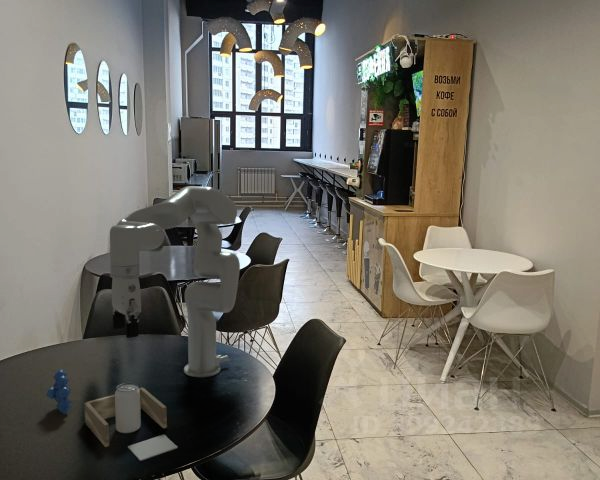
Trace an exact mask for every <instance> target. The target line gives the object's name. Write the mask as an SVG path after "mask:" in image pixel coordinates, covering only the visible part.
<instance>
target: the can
mask: <svg viewBox="0 0 600 480" xmlns="http://www.w3.org/2000/svg"><path fill="white" fill-rule="evenodd" d="M138 388H139V385H138V384H137V383H135V382H125V383H121V384H118V385H117V386H116V390H115V392H114V395H115V414H116V416H115V430H116V431H117V432H118V433H121V434H131V433H134V432H136V431H138V430H139V429H140V428H141V424H142V422H141V421H142V420H141V409H140V391H139V389H138Z"/></svg>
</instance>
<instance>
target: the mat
mask: <svg viewBox="0 0 600 480" xmlns="http://www.w3.org/2000/svg"><path fill="white" fill-rule="evenodd" d="M127 448H128V450H129V451H130V452H131V453H132V454H133V455H134V456H135V458H137V459H138V460H139V461H140V462H141V461H145V460H148V459H150V458H153V457H157V456H159V455H162V454H164V453H167V452H171V451H173V450H176V449H178V445H176V444H175V443H174V442H173V441H172V440H170V438H168V436H167V435H166V434H161V435H158V436H155V437H151V438H149V439H146V440H143V441H140V442H137V443H133V444H131V445H127Z"/></svg>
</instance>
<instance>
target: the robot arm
mask: <svg viewBox="0 0 600 480" xmlns="http://www.w3.org/2000/svg"><path fill="white" fill-rule="evenodd" d="M237 216H238V208H237V204H235V202H234V200H232V199H231V198H230V197H229V196H227V195H226V194H224V193H223V192H221V191H220V190H218V189H216V188H214V187H212V186H199V185H198V186H196V185H187V186H184V187H182V188H180V189H179V190H177V191H176V192H175V193H173V194H172V195H171V196H169V197H168V198H166V199H165V200H163V201H162V202H159V203H156V204H153V205H150V206H146V207H144V208H140V209H137V210H134V211H133V212H131V213H129V214H128V215H126V216H124V217H123V218H122V219H121V220H119V221H118V222H117V223H116V225H113V226H111V227H110V230H109V261H110V262H109V277H110V278H112V280H111V281H112V283H111V307H112V328H113V329H114V330H118V329H124V328H125V338H127V339H130V338H137V337H138V336H139V322H140V313H141V312H142V301H141V300H142V299H141V298H142V297H141V296H142V295H141V286H140V280H139V277H140V251H143V250H144V251H148V250H149V251H152V250H156V249H157V248H159V247H161V246H162V245H163V243H164V240H165V232H164V230H169V229H173V228H177V227H178V226H180V225H181V224H182V223H184V222H185V221H186V220H188V219H189V218H190V220H191V221H192V223H193V225H194V226H195V229H196V234H197V241H196V248H195V254H194V261H193V273H194V274H195V275H196V276H197V277H200V278H204V279H211V280H219V281H220V282H219V283H216V282H215V283H214V282H210V281H193V282H191V283H189V284H188V285H187V286H186V288H185V291H184V303H185V307H186V313H187V339H188V340H187V343H188V344H187V346H188V348H187V351H188V353H187V354H188V355H187V356H188V363H187V364H186V365H185V366H184V368H183V372H184V374H186V375H187V376H189V377H193V378H206V377H207V378H208V377H212V376H215V375H218V374H219V373H220V372H221V370H222V369H221V363H224V362H228V361H229V358H230V357H229V356H228V355H223V356H222V354H217V319H216V317H215V314H214V313H225V314H226V313H230V312H231V311H232V310H233V308H234V307H235V304H236V300H237V293H238V286H239V278H240V271H241V265H240V259H239V258H238V256H237V255H236V254H235V253H233V252H230V251H228V252H227V251H222V245H223V234H222V232H221V230H220V228H219V227H218V225H223V226H224V225H225V226H228V225H230V224H233V223H234V222H235V220H237ZM213 312H214V313H213Z"/></svg>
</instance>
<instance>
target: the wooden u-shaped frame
mask: <svg viewBox="0 0 600 480" xmlns="http://www.w3.org/2000/svg"><path fill="white" fill-rule="evenodd" d="M138 389H139V391H140V410H142V411H144V413H146V414H147V415H148V416H149V417H150V418H151V419H152V420H153V421H154V422H155V423H156V424H157V425H159V426H160V427H161V428H163V429H167V428H168V423H167V421H168V420H167V413H168V411H167V406H166V405H165V404H164V403H162V402H161V401H160V400H159V399H157V398H156V397H155V396H154V395H152V394H151V393H150V392H149V391H148V390H147V389H146V388H144V387H138ZM83 410H84V411H83V412H84V424H85V423H86V424H85V425H86V426H87V428H89V430H90V429H91V430H90V431H91V432H92V433H93V435H94V436H95V437H96V438H97V439H98V440H99V441H100V443H101V444H102V445H103V446H104V448H107V447H109V446H110V431H109V427H110V426H109V423H108V422H107V421H106V419H110V418H114V417H116V414H115V394H112V395H108V396H105V397H100V398H97V399H93V400H89V401H86V402H83ZM163 429H162V430H163Z"/></svg>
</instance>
